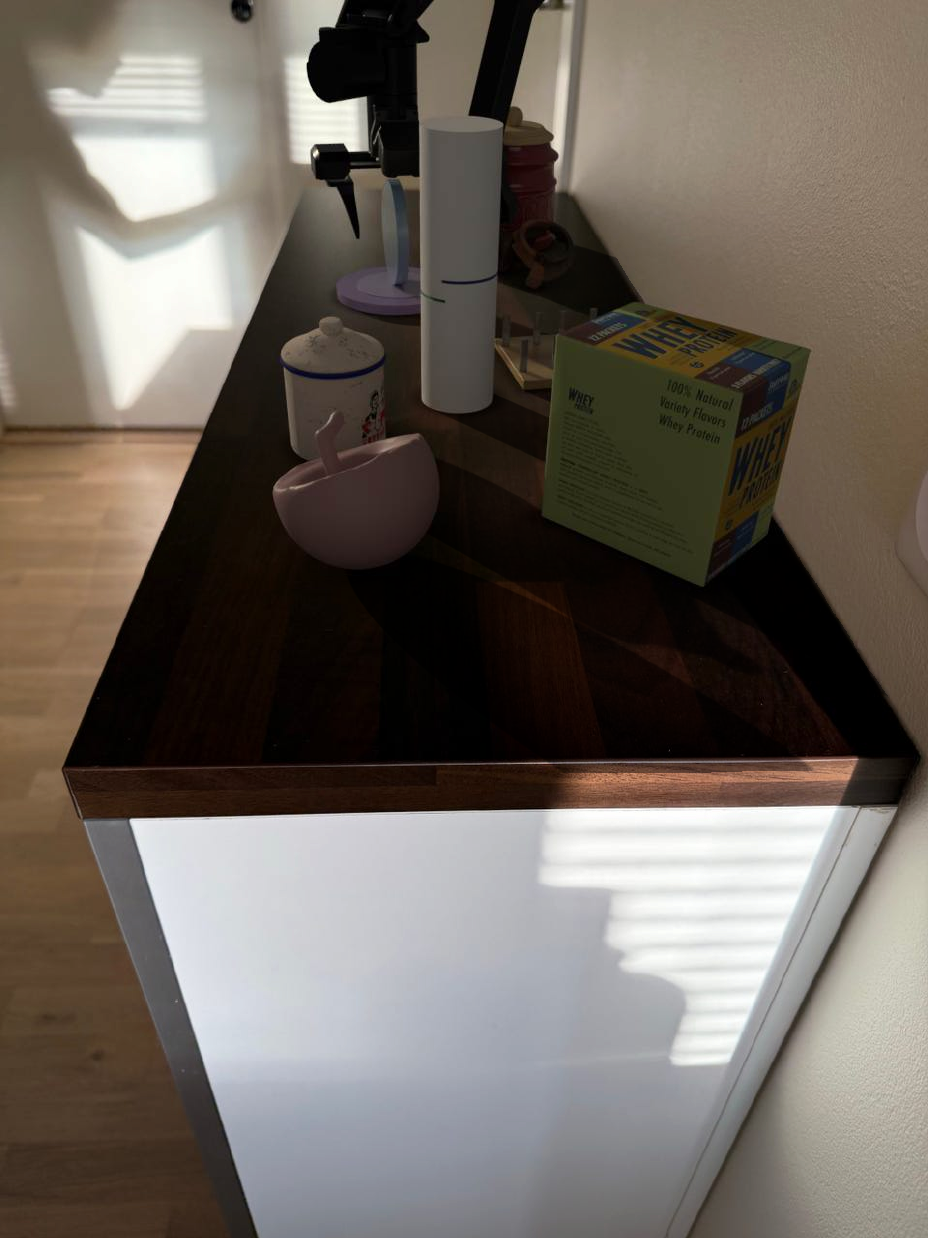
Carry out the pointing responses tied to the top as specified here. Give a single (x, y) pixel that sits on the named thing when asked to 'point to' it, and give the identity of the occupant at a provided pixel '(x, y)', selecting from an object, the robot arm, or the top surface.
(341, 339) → the teacup with lid
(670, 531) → the protein box
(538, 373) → the dish rack
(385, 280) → the lavender plate
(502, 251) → the pottery mug
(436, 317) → the cylindrical container
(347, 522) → the mortar and pestle
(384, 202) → the blue plate
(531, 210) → the kitchen canister
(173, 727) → the top surface
